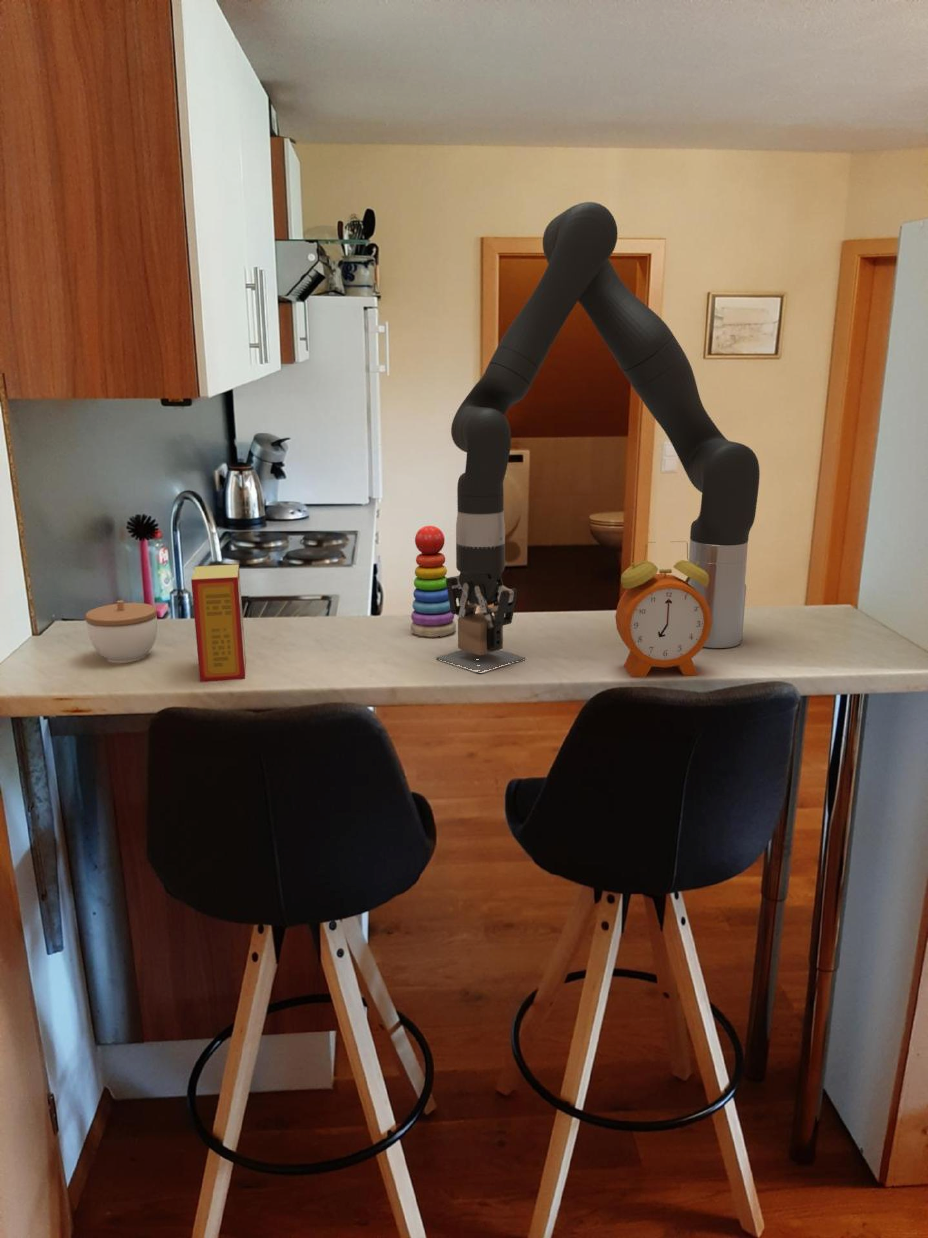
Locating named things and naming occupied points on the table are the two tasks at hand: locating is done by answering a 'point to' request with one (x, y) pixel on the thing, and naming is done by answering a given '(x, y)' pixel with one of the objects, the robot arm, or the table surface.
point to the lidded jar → (122, 630)
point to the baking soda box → (219, 622)
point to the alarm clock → (662, 617)
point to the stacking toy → (431, 587)
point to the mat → (480, 659)
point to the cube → (474, 634)
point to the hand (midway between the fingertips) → (480, 645)
